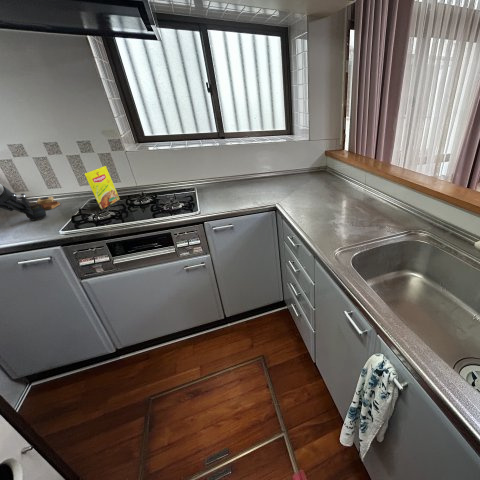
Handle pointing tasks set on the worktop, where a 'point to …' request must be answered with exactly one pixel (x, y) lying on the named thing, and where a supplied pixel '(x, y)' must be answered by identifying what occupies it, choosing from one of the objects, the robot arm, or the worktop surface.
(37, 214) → the mate gourd
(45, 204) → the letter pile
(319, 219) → the worktop surface
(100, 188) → the food package
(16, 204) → the robot arm
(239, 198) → the worktop surface
